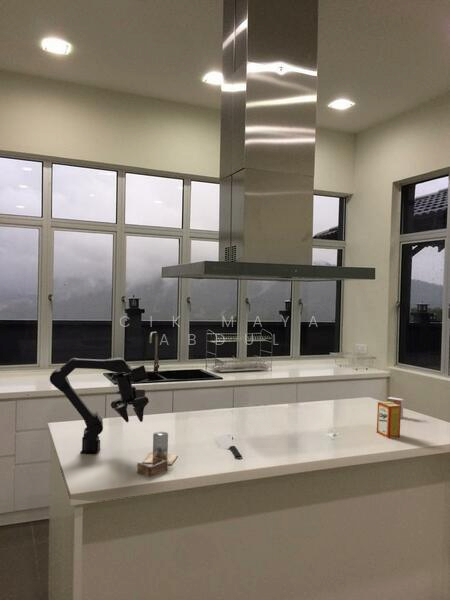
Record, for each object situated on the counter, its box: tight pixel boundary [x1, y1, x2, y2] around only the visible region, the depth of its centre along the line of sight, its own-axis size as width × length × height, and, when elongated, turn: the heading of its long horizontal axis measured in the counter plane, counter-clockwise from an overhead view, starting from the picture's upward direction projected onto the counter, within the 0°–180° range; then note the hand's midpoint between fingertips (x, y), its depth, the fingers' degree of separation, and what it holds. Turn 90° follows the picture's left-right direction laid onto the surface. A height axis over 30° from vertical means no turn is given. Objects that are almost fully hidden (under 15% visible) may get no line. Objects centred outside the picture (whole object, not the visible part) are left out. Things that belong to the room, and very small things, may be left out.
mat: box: [141, 452, 178, 467], centre depth 200 cm, size 12×11×1 cm
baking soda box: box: [376, 400, 402, 439], centre depth 244 cm, size 10×6×16 cm
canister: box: [152, 431, 169, 460], centre depth 200 cm, size 6×6×10 cm
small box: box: [386, 396, 405, 419], centre depth 281 cm, size 8×6×10 cm
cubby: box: [136, 457, 168, 478], centre depth 187 cm, size 7×10×4 cm
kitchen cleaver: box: [215, 433, 243, 460], centre depth 219 cm, size 31×2×10 cm
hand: (134, 421), depth 210 cm, fingers open, 9 cm apart
